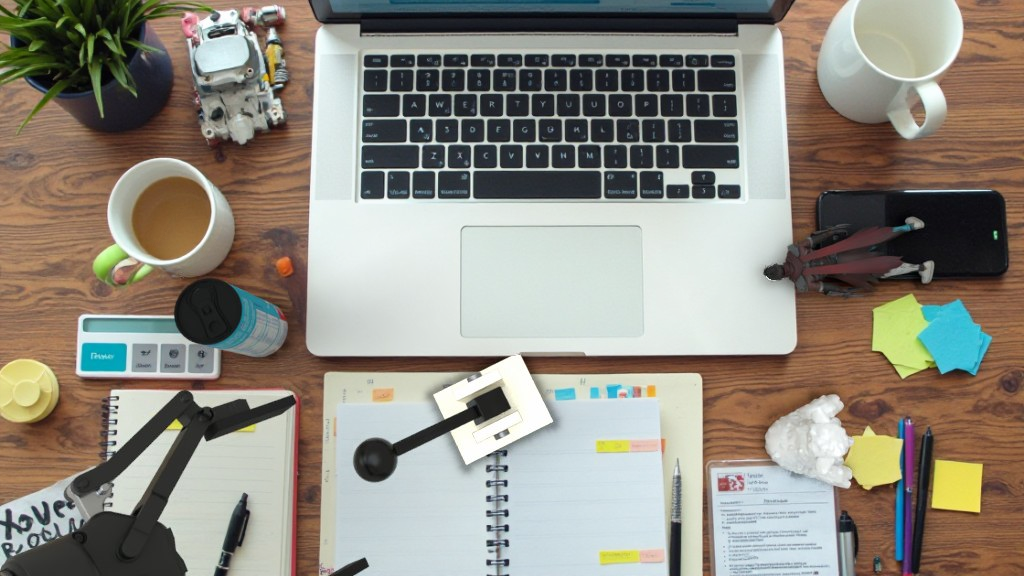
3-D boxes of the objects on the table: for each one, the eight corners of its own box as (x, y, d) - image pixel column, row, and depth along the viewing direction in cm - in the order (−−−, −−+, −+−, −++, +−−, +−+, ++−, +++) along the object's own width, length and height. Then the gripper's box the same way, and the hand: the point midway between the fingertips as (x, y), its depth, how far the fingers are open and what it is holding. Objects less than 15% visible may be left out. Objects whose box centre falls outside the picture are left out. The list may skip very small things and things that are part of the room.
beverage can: (282, 295, 83) (231, 269, 68) (297, 347, 82) (248, 332, 67) (229, 313, 83) (166, 290, 68) (243, 365, 82) (182, 353, 67)
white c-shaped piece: (466, 464, 80) (454, 475, 65) (434, 394, 81) (414, 389, 66) (553, 421, 80) (560, 422, 66) (519, 352, 82) (518, 338, 67)
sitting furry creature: (849, 487, 79) (906, 499, 67) (765, 493, 79) (808, 505, 67) (836, 394, 80) (890, 389, 69) (753, 399, 80) (793, 396, 69)
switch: (360, 492, 63) (369, 487, 60) (342, 452, 64) (350, 445, 60) (502, 422, 70) (517, 414, 67) (485, 386, 70) (499, 376, 67)
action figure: (904, 219, 84) (745, 244, 83) (934, 199, 78) (763, 226, 77) (926, 289, 82) (763, 316, 81) (958, 274, 76) (783, 303, 75)
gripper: (-63, 445, 49) (240, 357, 64) (78, 837, 45) (364, 642, 60) (-45, 406, 44) (279, 321, 59) (116, 843, 40) (416, 628, 56)
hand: (322, 483), depth 60 cm, fingers open, 13 cm apart
